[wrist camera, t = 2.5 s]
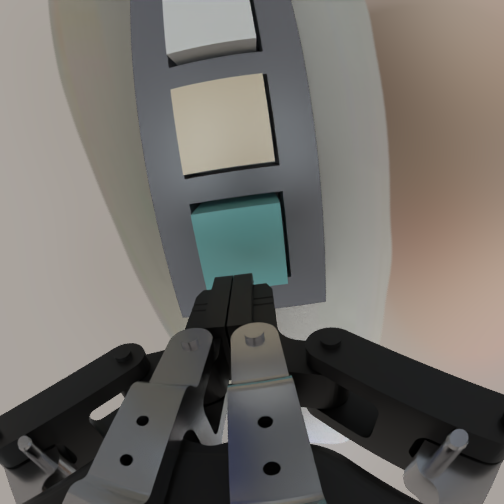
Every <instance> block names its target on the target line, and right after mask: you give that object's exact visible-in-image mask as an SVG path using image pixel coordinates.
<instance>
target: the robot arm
mask: <svg viewBox="0 0 504 504" xmlns="http://www.w3.org/2000/svg"><path fill="white" fill-rule="evenodd" d="M229 380H232V384H229ZM119 393H122V395H123V396H124V398H125V399H124V401H123V402H122V404H121V406H120V407H119V408H118V409H116V410H115V411H113V412H112V413H110V414H109V415H107V416H106V417H104V418H103V419H101V420H97V421H96V420H92V419H91V418H90V417H89V416H90V414H91V412H92V411H93V410H95V409H96V408H98V407H99V406H101V405H103V404H104V403H106V402H107V401H109V400H110V399H112V398H113V397H115V396H116V395H118V394H119ZM301 407H307V409H308V411H309V412H310V414H312V415H313V416H314V417H316V418H317V419H319V420H320V421H322V422H323V423H325V424H326V425H328V426H329V427H331V428H333V429H334V430H336V431H337V432H339V433H340V434H342V435H344V436H345V437H347V438H348V439H350V440H352V441H354V442H355V443H357V444H358V445H360V446H362V447H364V448H365V449H367V450H369V451H370V452H372V453H374V454H376V455H377V456H379V457H381V458H383V459H385V460H386V461H388V462H390V463H392V464H394V465H396V466H398V467H400V468H402V469H404V470H405V471H404V477H403V479H404V484H405V486H406V488H407V489H408V490H409V491H410V492H411V493H413V494H414V495H415V496H416V497H417V498H418V499H419V500H420V502H419V501H417V500H415V499H413V498H411V497H409V496H408V495H406V494H404V493H402V492H400V491H399V490H397V489H395V488H393V487H392V486H390V485H388V484H387V483H385V482H383V481H382V480H380V479H378V478H377V477H375V476H374V475H372V474H370V473H369V472H367V471H366V470H364V469H362V468H361V467H360V466H358V465H356V464H355V463H353V462H352V461H351V460H349V459H348V458H346V457H345V456H343V455H341V454H339V453H337V452H335V451H333V450H330V449H328V448H325V447H321V446H318V445H313V444H310V442H309V438H308V434H307V430H306V426H305V422H304V419H303V415H302V411H301ZM227 410H228V442H227V443H223V444H222V435H223V430H224V424H225V419H226V414H227ZM503 460H504V395H503V394H501V393H498V392H495V391H492V390H490V389H487V388H484V387H482V386H479V385H476V384H473V383H471V382H468V381H466V380H463V379H461V378H458V377H455V376H453V375H450V374H448V373H445V372H443V371H440V370H438V369H435V368H433V367H430V366H428V365H426V364H423V363H421V362H418V361H416V360H413V359H411V358H409V357H406V356H404V355H401V354H399V353H397V352H394V351H392V350H390V349H387V348H385V347H383V346H380V345H378V344H376V343H373V342H371V341H369V340H366V339H364V338H362V337H360V336H357V335H355V334H353V333H351V332H348V331H346V330H343V329H340V328H323V329H320V330H317V331H315V332H313V333H312V334H311V335H309V337H308V338H307V340H306V341H302V340H294V339H290V338H287V337H285V336H284V335H282V334H281V333H280V332H279V330H278V328H277V321H276V313H275V305H274V298H273V290H272V288H271V287H270V286H269V285H268V284H267V283H263V284H255V285H254V281H253V275H252V273H247V274H238V275H234V276H233V275H230V276H221V277H215V278H214V282H213V286H212V289H210V290H203V291H202V292H201V293H200V294H199V295H198V296H197V297H196V299H195V302H194V306H193V308H192V312H191V314H190V317H189V319H188V322H187V325H186V328H185V330H183V331H180V332H178V333H177V334H175V335H174V336H173V337H172V338H171V339H170V341H169V343H168V345H167V347H166V349H165V350H163V351H160V352H156V353H151V354H147V355H146V353H145V351H144V349H143V348H142V347H141V346H140V345H138V344H134V343H129V344H123V345H120V346H118V347H116V348H114V349H112V350H111V351H109V352H108V353H106V354H104V355H103V356H101V357H99V358H98V359H96V360H94V361H93V362H91V363H89V364H88V365H86V366H84V367H83V368H81V369H79V370H78V371H76V372H74V373H73V374H71V375H69V376H68V377H66V378H64V379H62V380H61V381H59V382H57V383H56V384H54V385H52V386H51V387H49V388H47V389H46V390H44V391H42V392H40V393H39V394H37V395H35V396H34V397H32V398H30V399H28V400H27V401H25V402H23V403H22V404H20V405H18V406H17V407H15V408H13V409H11V410H10V411H8V412H6V413H4V414H3V415H1V416H0V464H1V465H2V466H3V467H4V469H5V472H6V475H7V478H8V482H9V484H10V487H11V490H12V493H13V496H14V498H15V501H16V503H17V504H483V502H484V500H485V498H486V496H487V494H488V492H489V490H490V488H491V486H492V484H493V481H494V479H495V477H496V475H497V473H498V470H499V468H500V465H501V463H502V462H503Z"/></svg>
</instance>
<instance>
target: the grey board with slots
mask: <svg viewBox="0 0 504 504" xmlns="http://www.w3.org/2000/svg"><path fill="white" fill-rule="evenodd" d="M249 1H250V6H251V11H252V16H253V22H254V27H255V33H256V52H252V53H244V54H236V55H230V56H223V57H217V58H212V59H206V60H201V61H196V62H192V63H187V64H183V65H179V66H178V65H177V64H176V63H175V62H174V61H173V60H172V59H171V58H170V57H169V56H168V55H166V44H165V33H164V19H163V4H162V0H130V15H131V45H132V61H133V74H134V85H135V95H136V104H137V112H138V119H139V127H140V134H141V140H142V147H143V153H144V159H145V165H146V170H147V176H148V181H149V186H150V191H151V196H152V201H153V206H154V210H155V215H156V219H157V224H158V228H159V232H160V237H161V241H162V245H163V249H164V253H165V257H166V261H167V264H168V268H169V272H170V275H171V279H172V283H173V286H174V290H175V293H176V297H177V300H178V303H179V307H180V310H181V313H182V316H183V317H190V314H191V312H192V308H193V306H194V302H195V299H196V297H197V296H198V295H199V294H200V293H201V292H202V291H203V290H207V289H206V284H205V280H204V276H203V271H202V267H201V262H200V258H199V253H198V249H197V244H196V239H195V234H194V230H193V225H192V220H191V214H192V213H193V212H194V211H195V209H196V208H197V207H198V206H199V205H200V204H201V203H202V202H207V201H213V200H220V199H226V198H233V197H240V196H248V195H255V194H263V193H271V192H275V194H276V196H277V198H278V200H279V202H280V208H281V217H282V226H283V236H284V245H285V256H286V266H287V277H288V284H282V285H274V286H270V287H271V288H272V290H273V298H274V305H275V308H283V307H291V306H298V305H305V304H312V303H319V302H326V278H325V246H324V226H323V210H322V196H321V184H320V172H319V162H318V153H317V144H316V135H315V127H314V120H313V113H312V106H311V99H310V92H309V86H308V80H307V74H306V69H305V63H304V58H303V52H302V47H301V42H300V38H299V33H298V28H297V24H296V19H295V15H294V11H293V7H292V3H291V0H249ZM260 73H262V74H263V80H264V87H265V93H266V100H267V107H268V114H269V121H270V128H271V135H272V142H273V150H274V158H275V161H274V162H265V163H257V164H249V165H242V166H235V167H228V168H222V169H216V170H210V171H204V172H198V173H192V174H187V175H183V171H182V165H181V159H180V153H179V147H178V141H177V134H176V127H175V120H174V113H173V106H172V98H171V90H170V89H174V88H178V87H182V86H187V85H191V84H196V83H201V82H206V81H211V80H217V79H223V78H229V77H236V76H243V75H251V74H260Z"/></svg>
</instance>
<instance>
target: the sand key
mask: <svg viewBox="0 0 504 504" xmlns="http://www.w3.org/2000/svg"><path fill="white" fill-rule="evenodd" d="M170 90H171V98H172V106H173V113H174V120H175V127H176V134H177V141H178V147H179V153H180V159H181V165H182V171H183V175H187V174H192V173H198V172H204V171H210V170H216V169H222V168H228V167H235V166H242V165H249V164H257V163H265V162H274V161H275V158H274V150H273V142H272V135H271V128H270V121H269V114H268V107H267V100H266V93H265V87H264V80H263V74H262V73H260V74H251V75H243V76H236V77H229V78H223V79H217V80H211V81H206V82H201V83H196V84H191V85H187V86H182V87H178V88H174V89H170Z"/></svg>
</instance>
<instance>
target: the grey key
mask: <svg viewBox="0 0 504 504" xmlns="http://www.w3.org/2000/svg"><path fill="white" fill-rule="evenodd" d="M162 4H163V19H164V33H165V44H166V55H168V56H169V57H170V58H171V59H172V60H173V61H174V62H175V63H176V64H177V65H178V66H179V65H183V64H187V63H192V62H196V61H201V60H206V59H212V58H217V57H223V56H230V55H236V54H244V53H252V52H256V33H255V27H254V22H253V16H252V11H251V6H250V1H249V0H162Z"/></svg>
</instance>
